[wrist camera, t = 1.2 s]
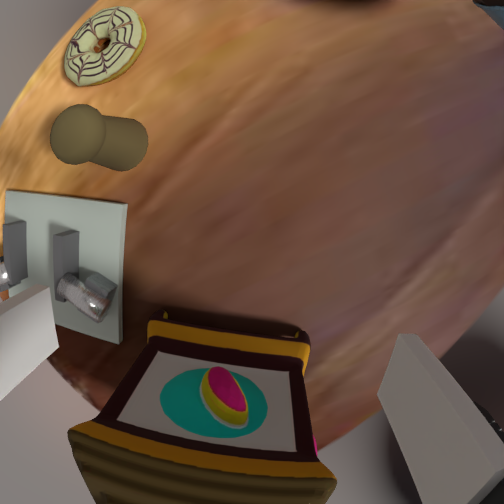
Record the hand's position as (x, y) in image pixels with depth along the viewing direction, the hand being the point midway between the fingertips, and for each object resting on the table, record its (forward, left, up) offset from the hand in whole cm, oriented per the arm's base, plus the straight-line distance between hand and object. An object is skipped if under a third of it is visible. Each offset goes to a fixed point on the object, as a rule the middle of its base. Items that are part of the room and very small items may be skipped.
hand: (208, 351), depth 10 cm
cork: (-8, -15, -22) cm, 28 cm away
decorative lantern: (+18, 0, -22) cm, 29 cm away
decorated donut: (-20, -20, -23) cm, 36 cm away
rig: (+7, -24, -22) cm, 33 cm away
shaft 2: (+9, -17, -21) cm, 28 cm away
